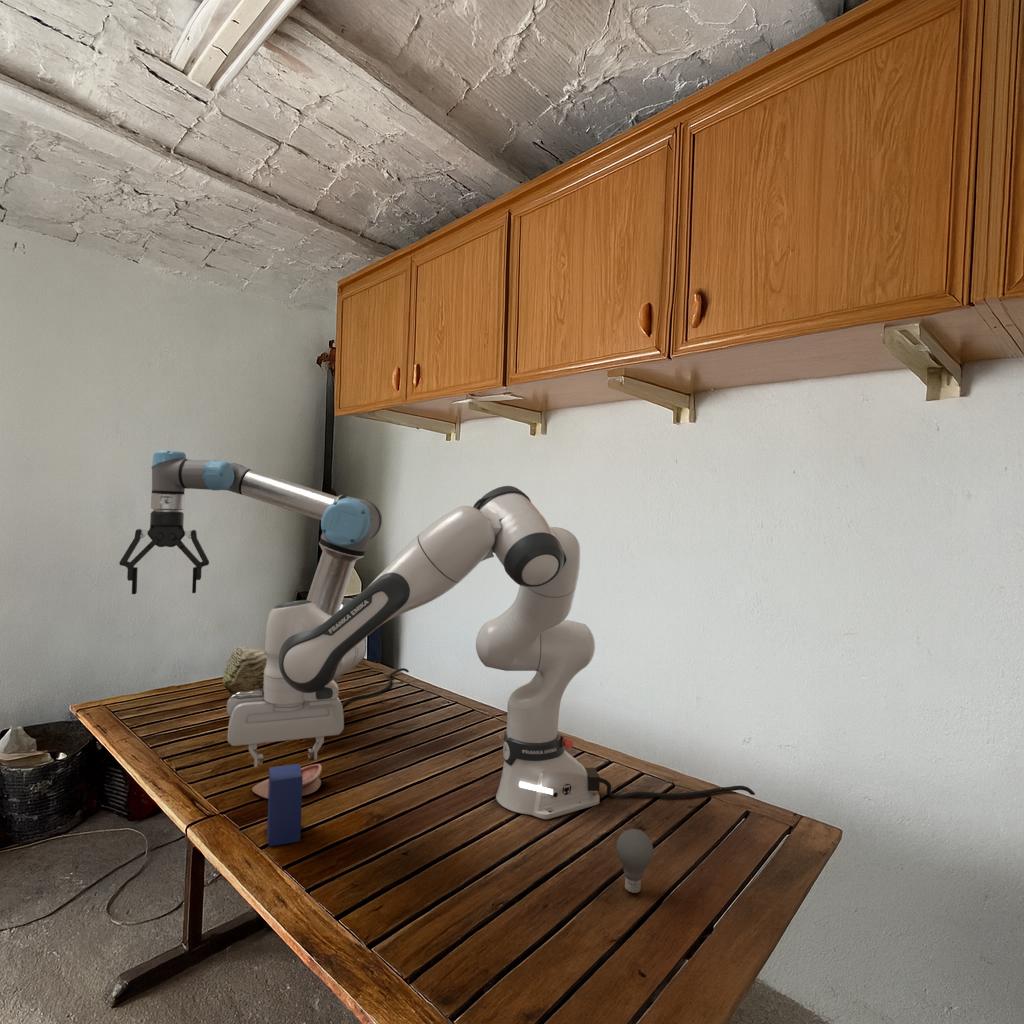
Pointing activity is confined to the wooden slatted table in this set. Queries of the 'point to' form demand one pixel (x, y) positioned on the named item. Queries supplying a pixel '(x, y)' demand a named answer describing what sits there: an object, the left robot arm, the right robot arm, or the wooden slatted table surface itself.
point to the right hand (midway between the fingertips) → (285, 762)
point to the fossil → (245, 670)
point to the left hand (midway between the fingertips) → (164, 593)
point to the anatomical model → (308, 783)
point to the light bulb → (634, 857)
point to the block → (284, 804)
